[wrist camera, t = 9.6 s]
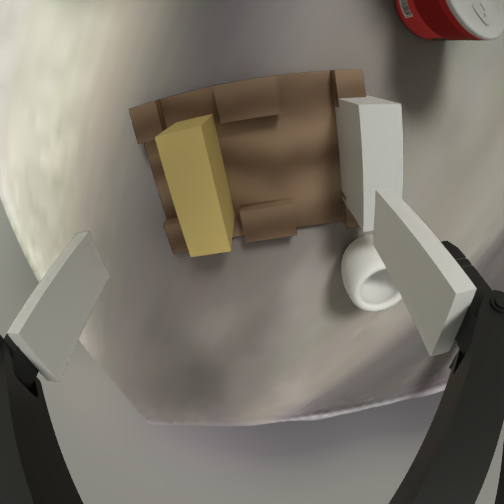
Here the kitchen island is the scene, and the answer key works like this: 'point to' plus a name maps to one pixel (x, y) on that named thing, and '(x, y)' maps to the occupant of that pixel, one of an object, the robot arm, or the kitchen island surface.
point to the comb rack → (264, 149)
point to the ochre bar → (198, 184)
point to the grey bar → (369, 153)
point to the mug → (367, 277)
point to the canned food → (452, 19)
